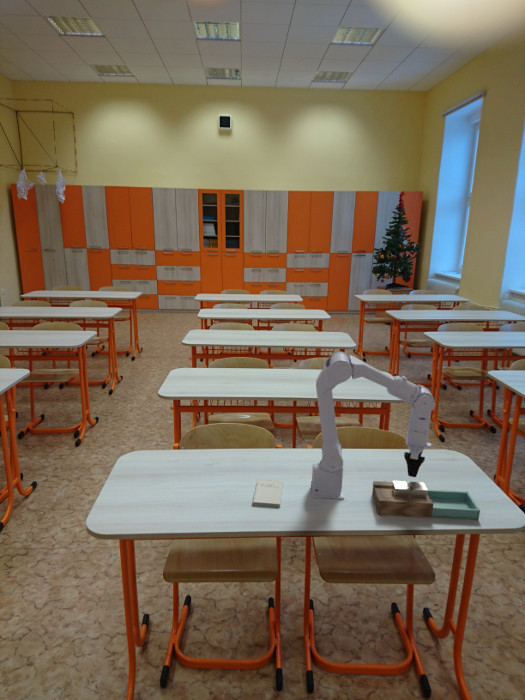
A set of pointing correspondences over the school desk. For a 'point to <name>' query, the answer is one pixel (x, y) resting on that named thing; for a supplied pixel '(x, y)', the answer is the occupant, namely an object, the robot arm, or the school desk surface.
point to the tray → (453, 504)
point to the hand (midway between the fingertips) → (413, 469)
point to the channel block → (399, 502)
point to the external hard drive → (268, 493)
